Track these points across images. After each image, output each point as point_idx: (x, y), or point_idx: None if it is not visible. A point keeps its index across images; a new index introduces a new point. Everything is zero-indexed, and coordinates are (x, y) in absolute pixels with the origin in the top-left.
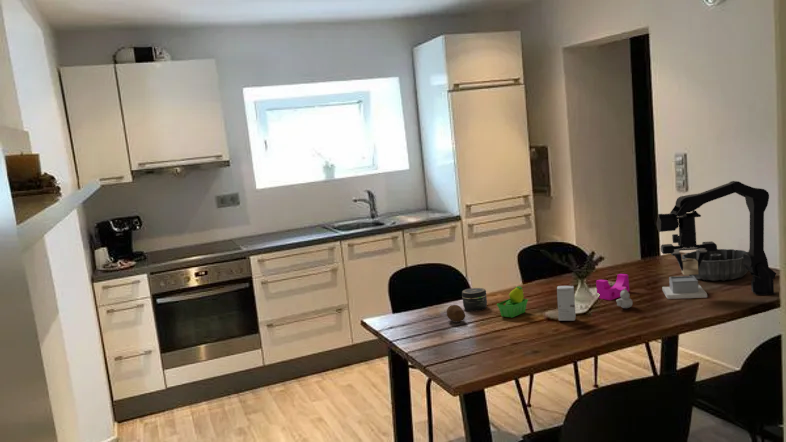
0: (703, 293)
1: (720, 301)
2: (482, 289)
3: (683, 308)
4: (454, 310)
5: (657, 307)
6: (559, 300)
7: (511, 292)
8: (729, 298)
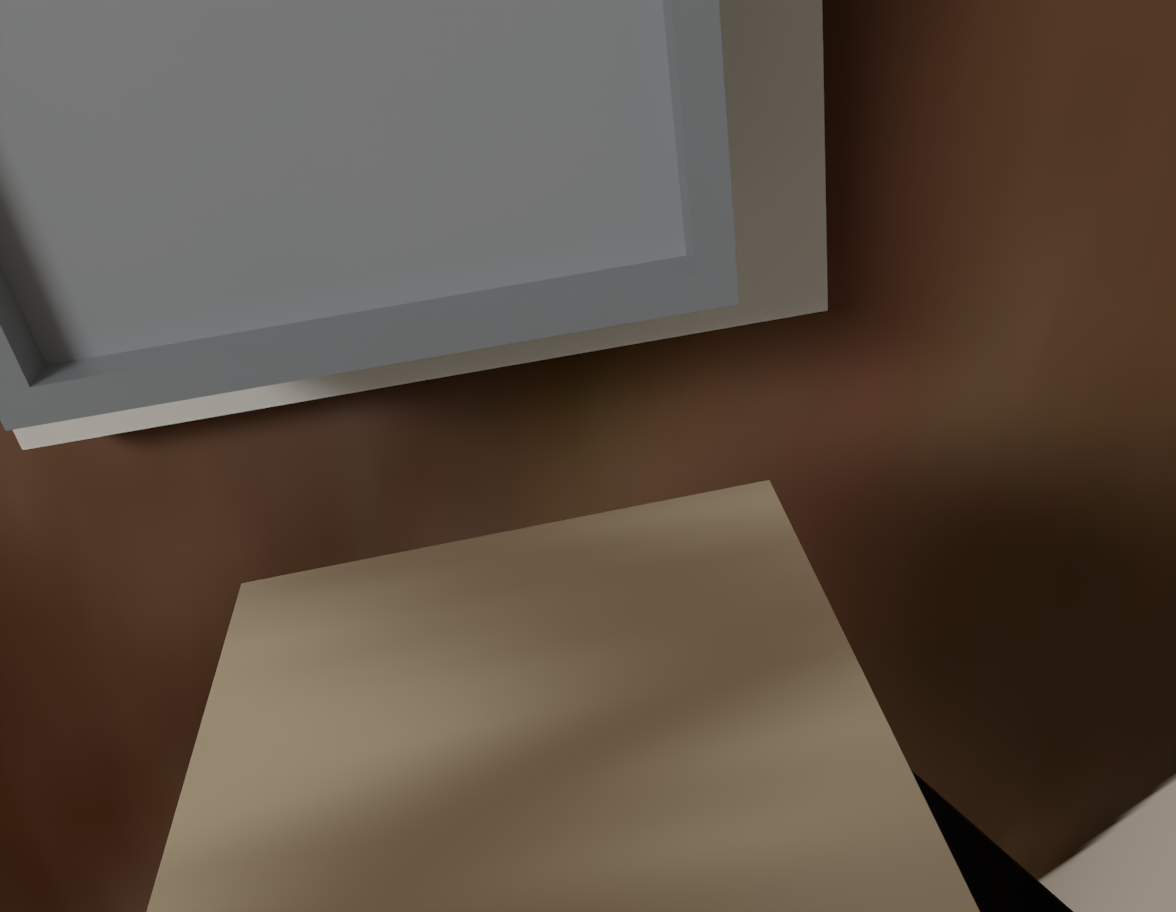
0: (762, 295)
1: (958, 520)
2: None
3: None
4: None
5: (46, 866)
6: None
7: None
8: (1155, 329)
